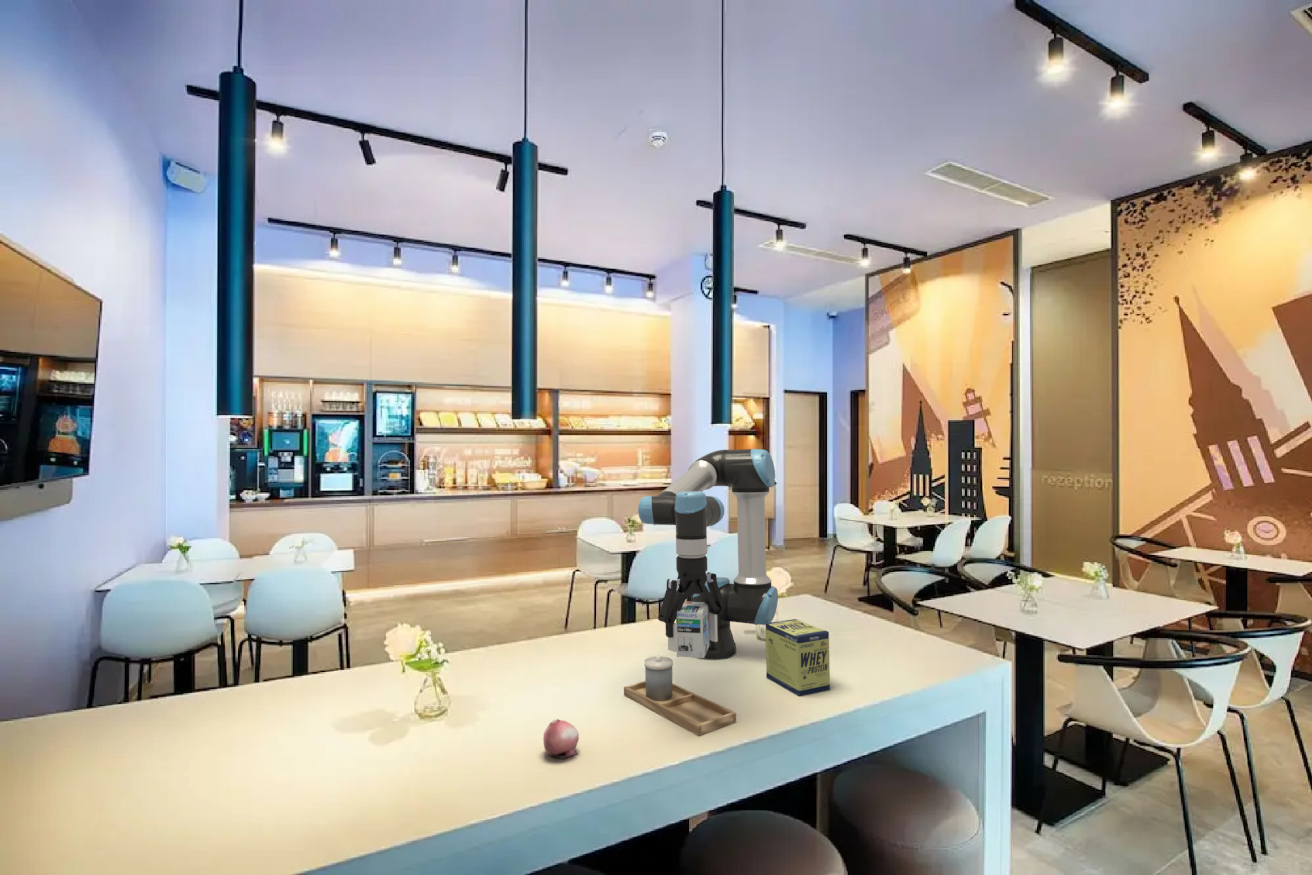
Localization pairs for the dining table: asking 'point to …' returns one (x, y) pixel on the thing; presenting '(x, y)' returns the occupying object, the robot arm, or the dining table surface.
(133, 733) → the dining table surface
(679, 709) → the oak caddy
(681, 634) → the light bulb box
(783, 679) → the protein box
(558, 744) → the onion
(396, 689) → the dining table surface
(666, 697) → the slate jar
